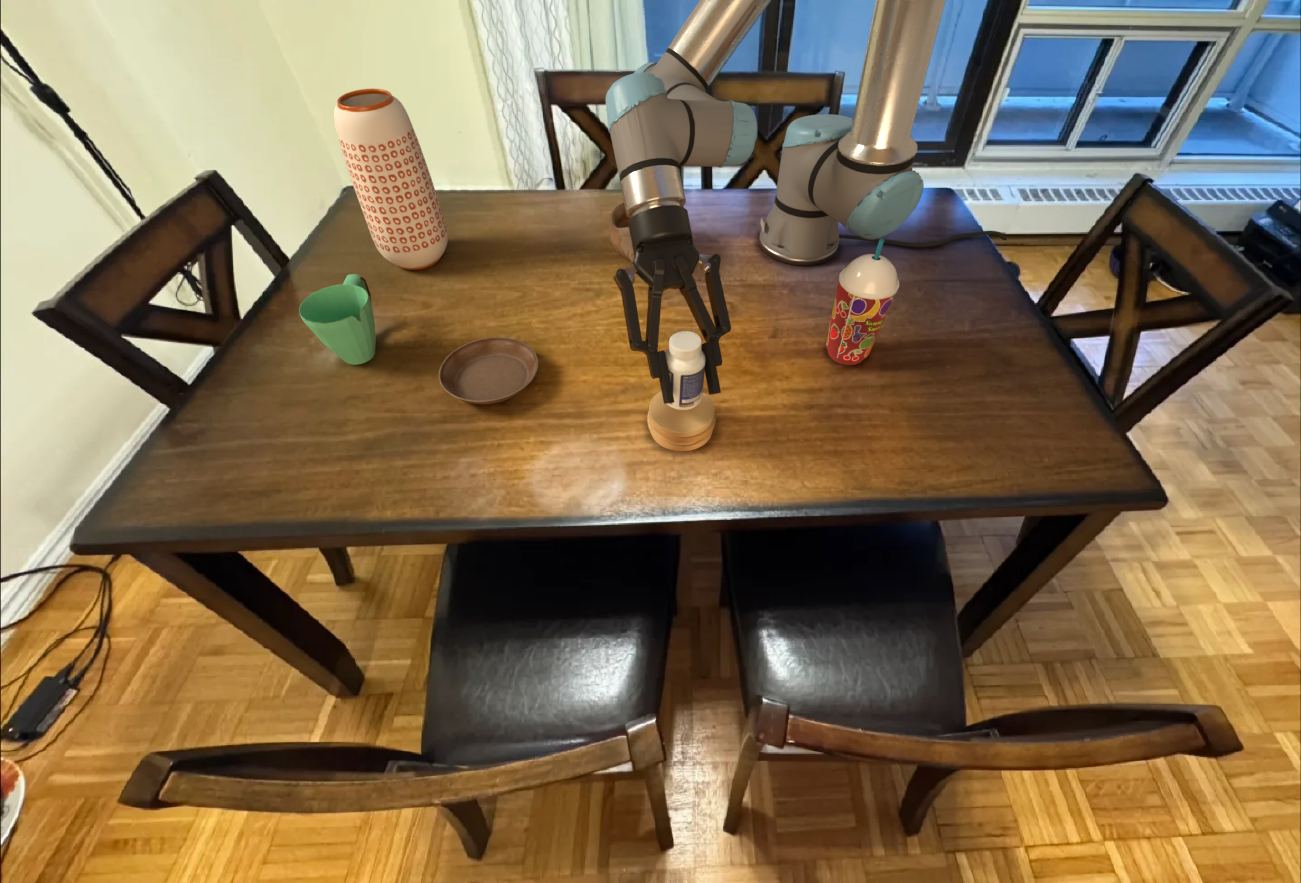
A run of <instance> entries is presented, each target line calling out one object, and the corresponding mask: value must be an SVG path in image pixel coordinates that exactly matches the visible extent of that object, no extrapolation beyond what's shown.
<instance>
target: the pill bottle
mask: <svg viewBox="0 0 1301 883" xmlns="http://www.w3.org/2000/svg"><path fill="white" fill-rule="evenodd" d="M669 337H670V338H669V339H668V340H669V341H668V348H667V349H666V350H665V356H666V361H667V366H668V371H669V376H670V381H671V387H672V392H673V397H674V402H673V403H668V404H667V405H669V406H670V407H672V408H674V409H678V410H688V409H692V408H694V407H696V406H697V405H698V404H699V403H700V401H701V399H702V394H703V393H704V384H705V383H704V382H705V362H706V358H705V354H704V352H703V351H702V350H701V344H703V343H702V342H703V341H702V338H701V336H700V335H698V334H697V333H696V332H694V331H690V330H681V331H677V332H674V333H673V334H671V336H669Z"/></svg>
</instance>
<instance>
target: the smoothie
mask: <svg viewBox="0 0 1301 883" xmlns="http://www.w3.org/2000/svg"><path fill="white" fill-rule="evenodd" d="M879 239H880V240H879V242H877V246H876V250H875V253H866V254H863V255H860V256H858V257H856V258H854V259H853V260H851V261H850V262H849V263H848V265H847V266H846V267H844V268H843V269H842V270H841V271H840V273H839V274H838V276H839V278H838V280H837V285H836V286H837V287H836V290H835V291H836V292H835V297H834V302H833V307H832V311H831V312H832V313H831V317H830V321H829V327H828V332H827V337H826V342H825V343H826V344H825V347H826V350H827V354H828V356H829V357H830V359H831V360H833V361H834V362H836V363H838V364H841V365H846V366H854V365H858V364H860V363H861V362H863V361H864V360H865V359H866V358H867V357H868V356H869V355H870V353H871V351H872V349H873V346H874V344H875V341H876V339H877V337H878V335H879V332H880V330H881V328H882V326H883V324H884V321H885V319H886V317H887V314H888V313H889V310H890V308H891V306H892V304H893V301H894V300H895V297H896V294H897V292H898V290H899V289H900V281H899V279H898V273H897V270H896V267H895V266H894V264H893V263H892V261H891V260H889V259H888V258H887V257H885V256H883V255H881V252H882V250H883V246H884V244H885V243H884V239H885V238H883V237H881V238H879Z"/></svg>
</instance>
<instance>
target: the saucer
mask: <svg viewBox="0 0 1301 883" xmlns="http://www.w3.org/2000/svg"><path fill="white" fill-rule="evenodd" d="M538 370H539V358H538V355H537V353H536V351H535V350H534V349H533V348H532V347H531V346H530V345H529V344H527V343H525V342H523V341H522V340H519V339H515V338H512V337H504V336H493V337H491V336H490V337H484V338H480V339H476V340H472V341H470V342H467V343H464V344H463V345H461V346H459V347H457V348H456V349H454V350H453V351H452V352H450V353H449V354H448V355H447V356H446V357H445V358H444V360H443V362H442V363H441V365H440V367H439V370H438V380H439V383H440V386H441V387H442V389H443V390H444V391H445V392H446V393H447V394H449V395H450V396H452V397H454V398H455V399H458V400H461V401H462V402H466V403H469V404H476V405H490V404H496V403H502V402H505V401H507V400H509V399H511V398H513V397H515V396H517V395H518V394H520V393H521V392H522V391H524V390H525V389H526V388H527V386H529V384H531V382H532V380H534V377H536V374H537V372H538Z"/></svg>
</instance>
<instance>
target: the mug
mask: <svg viewBox="0 0 1301 883" xmlns="http://www.w3.org/2000/svg"><path fill="white" fill-rule="evenodd" d="M298 313H299V316H300V318H301V321H303V323H304V324H305V325H306V327H308V328H309V329H310V331H311V332H312V333H313V335H315V336H316V337H317V339H319V341H320V342H321V343H322V344H323V345H324V346H326V347H327V348H328V349H329V350H330V351H331V352H332V353H333V354H334V355H336V357H338V358H339V359H340V360H342V361H344V363H346V364H347V365H350V366H351V365H352V366H353V365H354V366H356V365H362V364H365V363H367V362H368V361H370V360H372V359H373V358H374V356H375V354H376V344H377V343H376V338H377V336H376V324H375V316H374V310H373V305H372V294H371V292H370V288H369V286H368V283H367V280H366V279H365V278H364V277H362V276H361V275H359V274H357V273H349V274H348V275H346V277H345V279H344V280H343V283H341V284H333V285H330V286H327V287H322V288H320V289H319V290H316V291H314V292H312V293H311V294H309V295H308V296H307V297H306V298H304V299H303V301H302V302H301V303H300V305H299V309H298Z"/></svg>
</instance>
